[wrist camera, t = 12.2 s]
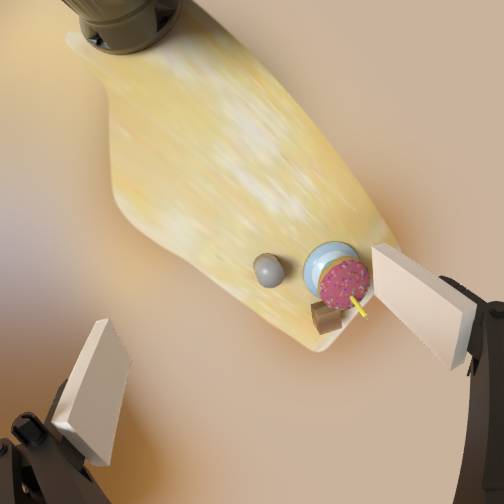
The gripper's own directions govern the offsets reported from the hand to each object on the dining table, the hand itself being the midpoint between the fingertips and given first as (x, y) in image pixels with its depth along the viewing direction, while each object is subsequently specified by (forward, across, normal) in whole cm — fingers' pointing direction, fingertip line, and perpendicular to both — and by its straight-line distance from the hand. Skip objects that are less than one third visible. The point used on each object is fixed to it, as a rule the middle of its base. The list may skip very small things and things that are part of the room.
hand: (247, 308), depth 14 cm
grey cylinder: (+32, +4, -12) cm, 34 cm away
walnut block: (+32, +12, -24) cm, 42 cm away
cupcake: (+31, +15, -16) cm, 38 cm away
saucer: (+32, +15, -16) cm, 39 cm away
